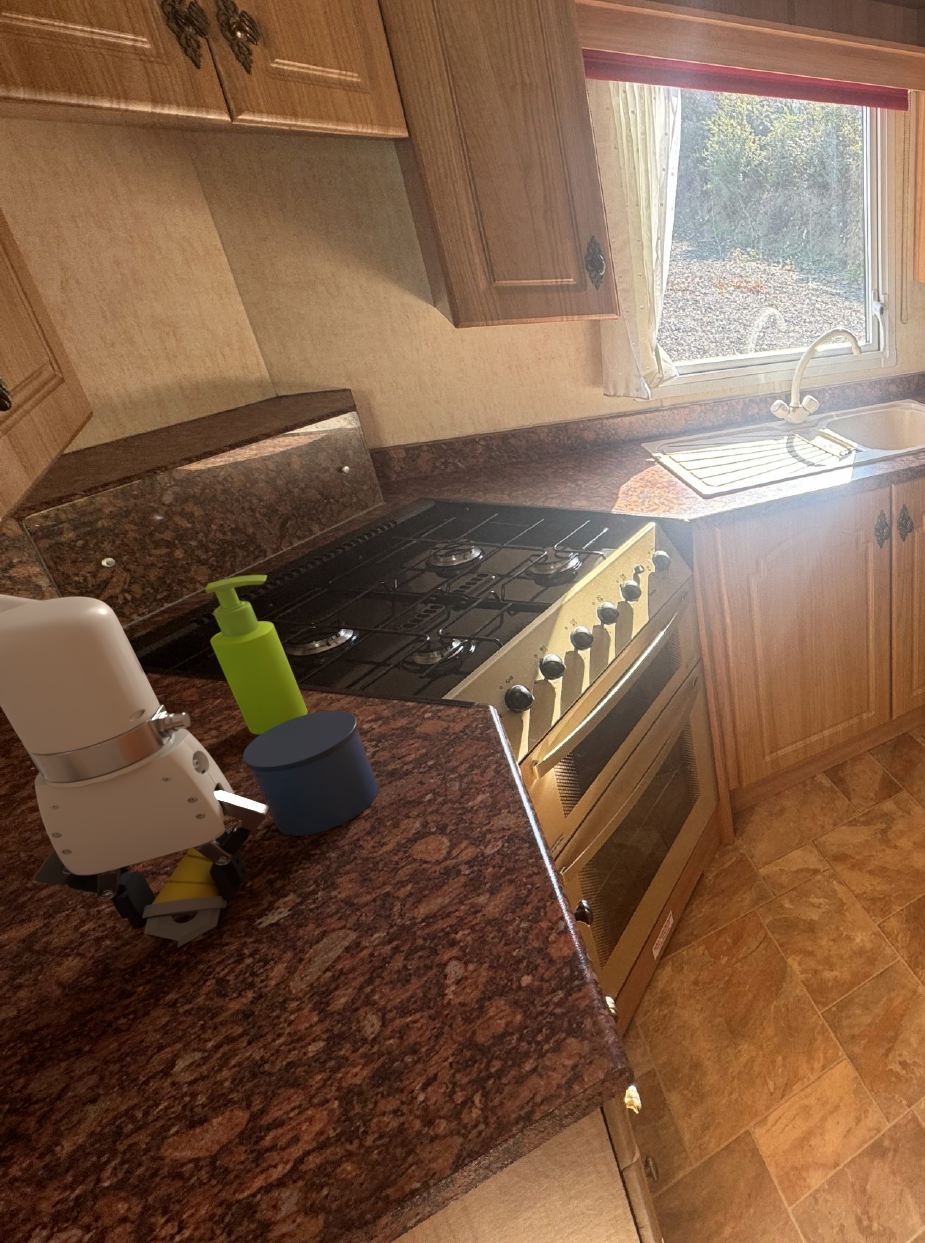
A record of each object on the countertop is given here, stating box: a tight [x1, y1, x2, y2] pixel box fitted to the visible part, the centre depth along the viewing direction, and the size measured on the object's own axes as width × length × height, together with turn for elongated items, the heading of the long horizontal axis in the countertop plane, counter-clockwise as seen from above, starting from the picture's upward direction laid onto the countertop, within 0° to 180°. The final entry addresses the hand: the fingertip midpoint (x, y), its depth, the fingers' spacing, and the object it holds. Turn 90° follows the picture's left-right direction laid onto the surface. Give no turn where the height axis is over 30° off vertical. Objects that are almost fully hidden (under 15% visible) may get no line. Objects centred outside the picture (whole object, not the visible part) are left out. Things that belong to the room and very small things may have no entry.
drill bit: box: [142, 848, 228, 949], centre depth 67 cm, size 5×5×10 cm
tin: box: [242, 710, 380, 837], centre depth 80 cm, size 9×9×9 cm
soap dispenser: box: [204, 574, 309, 735], centre depth 92 cm, size 6×7×20 cm
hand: (191, 901), depth 67 cm, fingers closed on drill bit, 5 cm apart
